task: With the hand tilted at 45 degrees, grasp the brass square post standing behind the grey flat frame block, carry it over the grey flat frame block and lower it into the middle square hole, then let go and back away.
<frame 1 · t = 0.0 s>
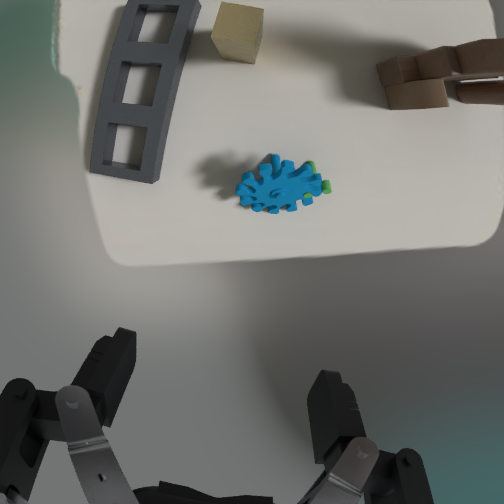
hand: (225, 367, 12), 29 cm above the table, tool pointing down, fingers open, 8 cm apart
brass post: (242, 46, 31), on the table
grey flat frame block: (144, 85, 33), on the table
wooden toy: (428, 83, 32), on the table
gear: (281, 182, 39), on the table
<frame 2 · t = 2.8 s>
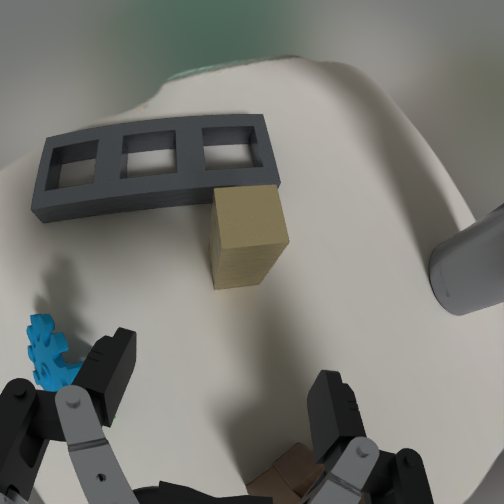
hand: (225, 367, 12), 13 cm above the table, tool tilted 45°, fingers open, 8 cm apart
brass post: (233, 265, 28), on the table
grey flat frame block: (151, 170, 30), on the table
gear: (74, 381, 22), on the table
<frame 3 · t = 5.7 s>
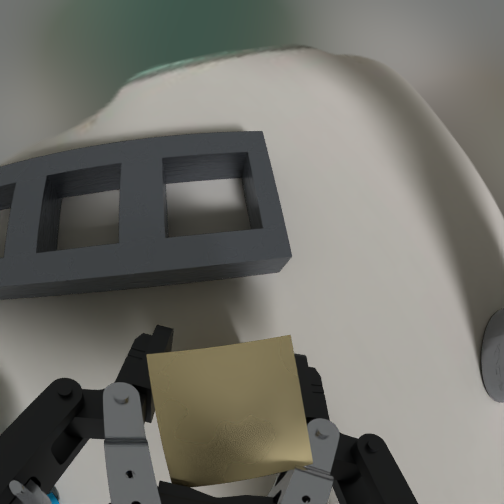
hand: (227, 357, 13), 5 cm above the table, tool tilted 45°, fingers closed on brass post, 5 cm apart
brass post: (215, 387, 17), on the table, touching gripper
grey flat frame block: (92, 226, 19), on the table
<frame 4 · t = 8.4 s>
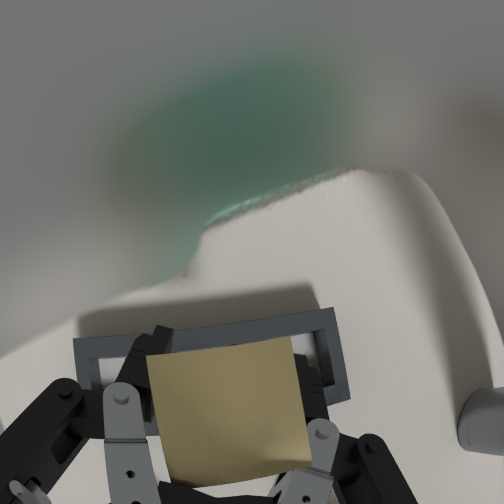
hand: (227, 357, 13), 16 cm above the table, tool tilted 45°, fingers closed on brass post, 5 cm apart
brass post: (215, 388, 17), point 11 cm above the table, touching gripper
grey flat frame block: (210, 377, 27), on the table
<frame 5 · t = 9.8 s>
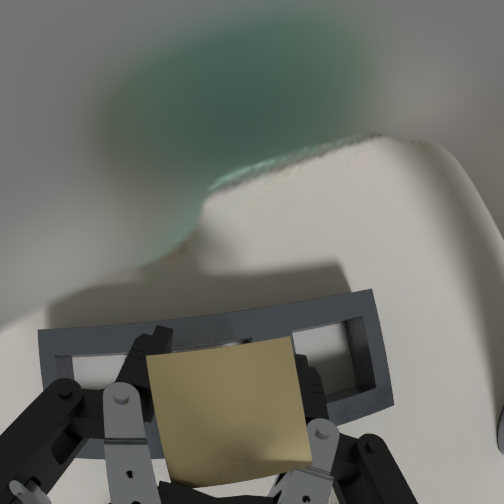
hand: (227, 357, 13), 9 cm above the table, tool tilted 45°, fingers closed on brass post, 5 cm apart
brass post: (215, 388, 17), point 4 cm above the table, touching gripper
grey flat frame block: (215, 382, 20), on the table
when the fingers open (6 cm above the table, at t = 11.0 s): brass post drops 1 cm, resting in grey flat frame block.
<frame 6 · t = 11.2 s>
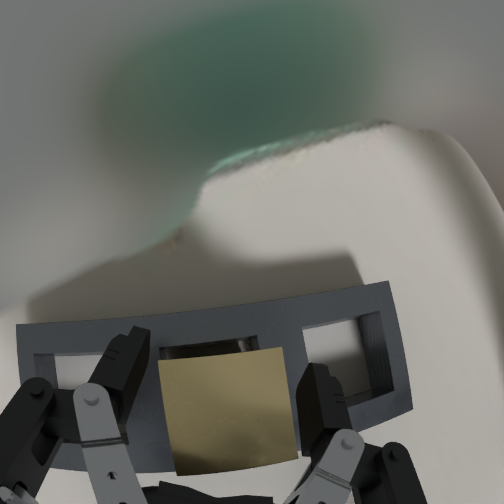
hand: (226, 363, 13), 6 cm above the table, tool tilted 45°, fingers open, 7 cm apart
brass post: (215, 388, 18), resting in grey flat frame block
grey flat frame block: (214, 386, 18), on the table
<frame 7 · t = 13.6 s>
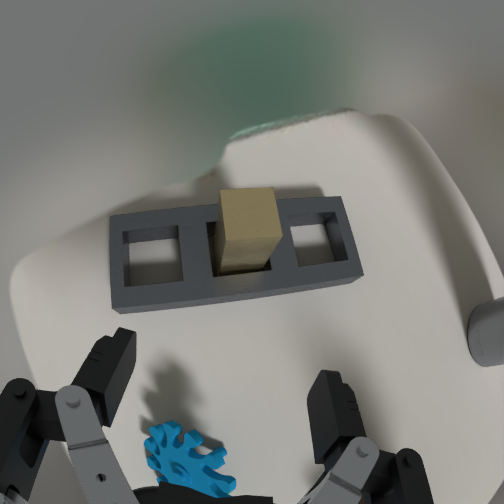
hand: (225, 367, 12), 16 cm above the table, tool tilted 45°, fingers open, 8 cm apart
brass post: (235, 258, 31), resting in grey flat frame block
grey flat frame block: (234, 256, 31), on the table
gear: (190, 464, 24), on the table
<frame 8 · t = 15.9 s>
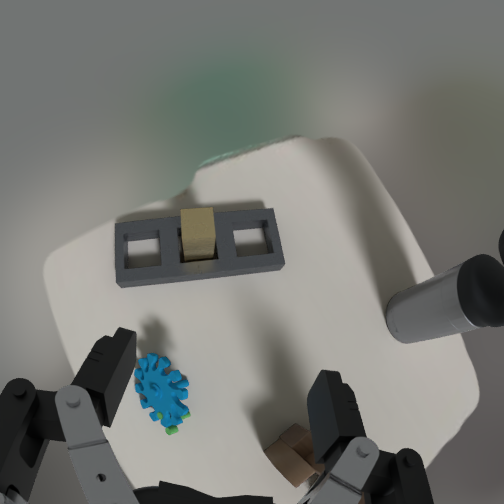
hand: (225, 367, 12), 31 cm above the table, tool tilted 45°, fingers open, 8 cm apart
brass post: (197, 251, 46), resting in grey flat frame block
grey flat frame block: (197, 250, 46), on the table
wooden toy: (309, 468, 37), on the table
gear: (164, 392, 38), on the table
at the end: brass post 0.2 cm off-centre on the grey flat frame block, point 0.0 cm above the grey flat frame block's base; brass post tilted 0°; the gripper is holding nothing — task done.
